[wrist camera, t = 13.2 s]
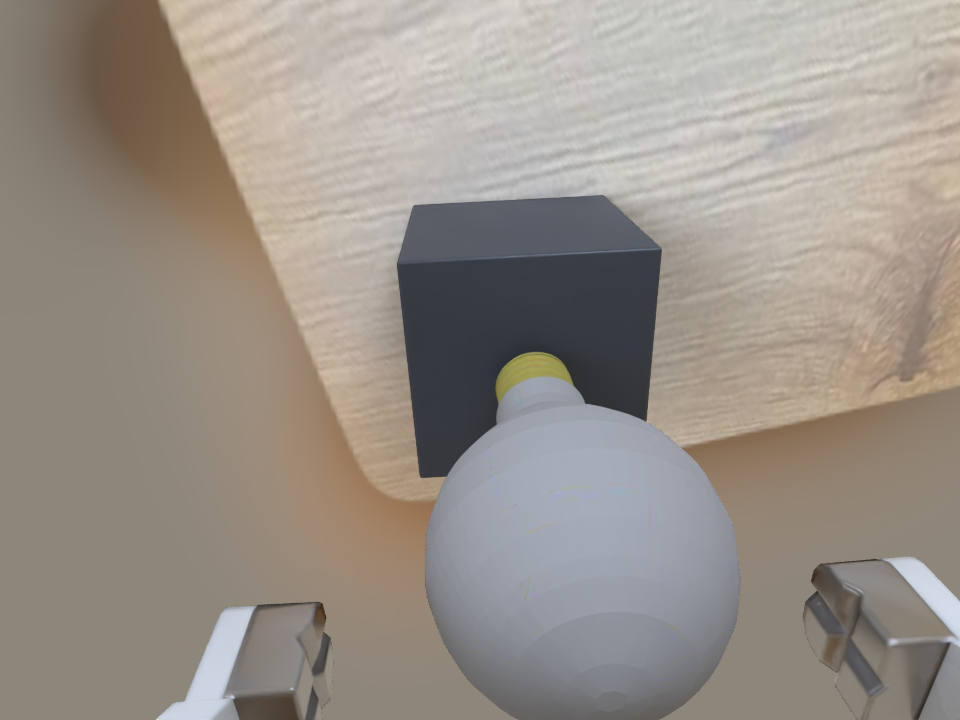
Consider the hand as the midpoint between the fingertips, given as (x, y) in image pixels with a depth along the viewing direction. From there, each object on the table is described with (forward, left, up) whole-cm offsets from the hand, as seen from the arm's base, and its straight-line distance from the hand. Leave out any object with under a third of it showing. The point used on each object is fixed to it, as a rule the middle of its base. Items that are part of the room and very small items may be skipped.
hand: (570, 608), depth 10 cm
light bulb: (0, 0, -9) cm, 9 cm away
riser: (0, 0, -15) cm, 15 cm away
